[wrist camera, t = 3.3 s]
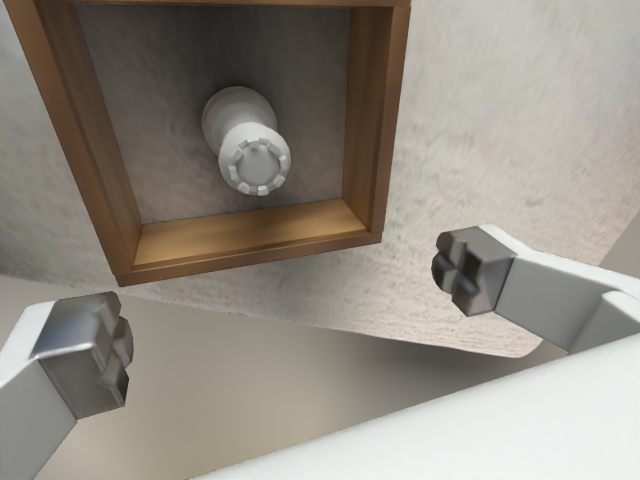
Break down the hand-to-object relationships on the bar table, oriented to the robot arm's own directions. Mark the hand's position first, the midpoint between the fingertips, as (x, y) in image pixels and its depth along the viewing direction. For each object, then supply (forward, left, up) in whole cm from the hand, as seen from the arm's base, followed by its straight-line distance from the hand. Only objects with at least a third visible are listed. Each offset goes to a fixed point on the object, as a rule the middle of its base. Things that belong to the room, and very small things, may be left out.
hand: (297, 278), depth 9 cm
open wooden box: (0, 0, -16) cm, 16 cm away
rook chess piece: (0, 0, -16) cm, 16 cm away
